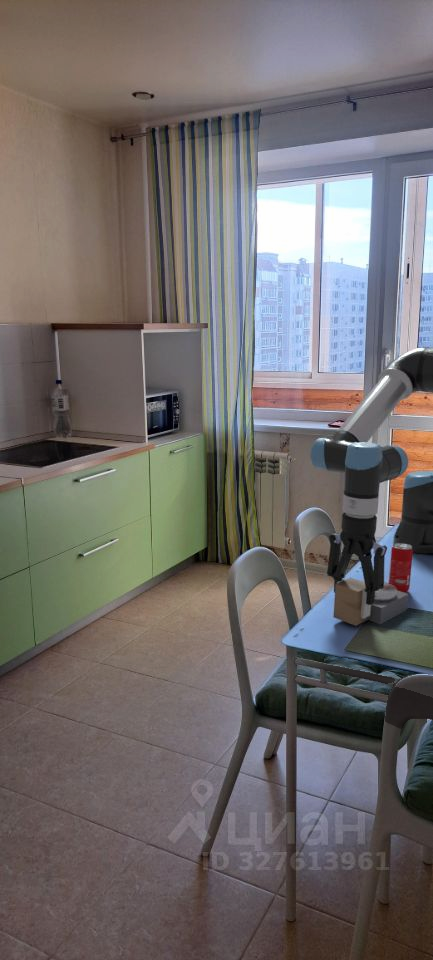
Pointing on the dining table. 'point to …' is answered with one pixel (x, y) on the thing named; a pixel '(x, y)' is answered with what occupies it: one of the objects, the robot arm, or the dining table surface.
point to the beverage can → (400, 566)
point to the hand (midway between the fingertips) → (352, 611)
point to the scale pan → (386, 593)
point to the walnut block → (349, 601)
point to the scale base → (389, 608)
